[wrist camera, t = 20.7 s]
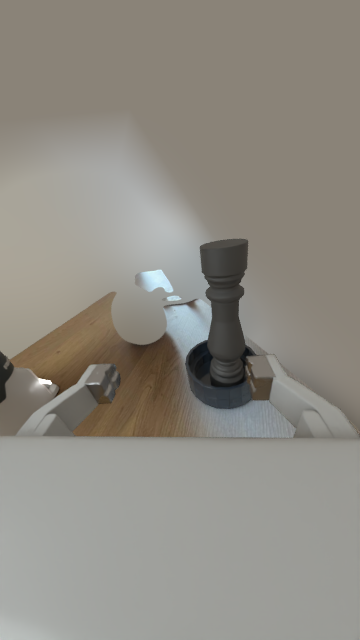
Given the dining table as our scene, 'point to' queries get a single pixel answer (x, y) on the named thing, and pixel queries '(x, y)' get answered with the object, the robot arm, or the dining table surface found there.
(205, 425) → the dining table surface
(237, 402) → the bowl
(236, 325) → the candle holder
